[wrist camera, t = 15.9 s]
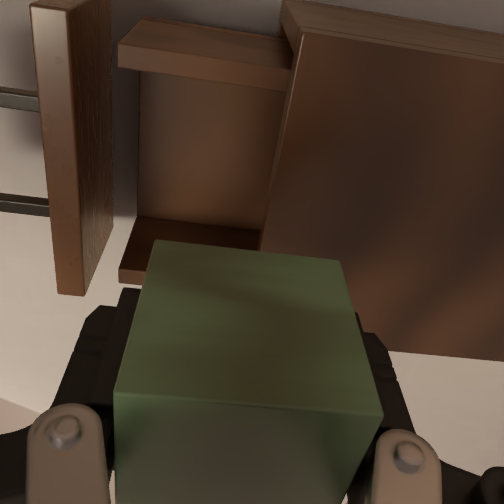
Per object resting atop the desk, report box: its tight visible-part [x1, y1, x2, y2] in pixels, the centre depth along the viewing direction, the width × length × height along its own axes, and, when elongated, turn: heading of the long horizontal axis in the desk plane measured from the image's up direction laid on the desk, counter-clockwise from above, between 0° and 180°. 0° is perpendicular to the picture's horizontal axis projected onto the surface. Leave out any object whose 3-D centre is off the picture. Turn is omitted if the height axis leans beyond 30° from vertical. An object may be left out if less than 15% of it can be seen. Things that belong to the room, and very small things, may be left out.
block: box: [113, 239, 384, 504], centre depth 11 cm, size 5×5×5 cm
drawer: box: [0, 0, 294, 296], centre depth 21 cm, size 20×12×6 cm, turn 81°
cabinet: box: [257, 0, 504, 362], centre depth 22 cm, size 16×13×8 cm
